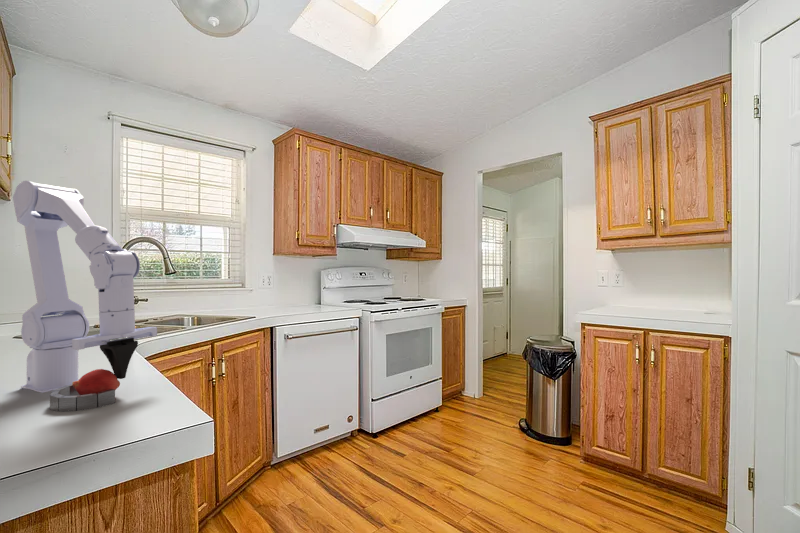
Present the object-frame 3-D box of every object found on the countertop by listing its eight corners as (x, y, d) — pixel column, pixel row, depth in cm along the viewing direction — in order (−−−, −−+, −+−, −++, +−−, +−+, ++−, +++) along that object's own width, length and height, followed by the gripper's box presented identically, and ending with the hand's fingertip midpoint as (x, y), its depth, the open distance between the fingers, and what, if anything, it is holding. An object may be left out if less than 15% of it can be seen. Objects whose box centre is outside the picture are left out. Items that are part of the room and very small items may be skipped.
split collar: (38, 406, 70) (38, 391, 70) (82, 394, 76) (82, 381, 76) (70, 416, 65) (70, 401, 65) (115, 403, 71) (115, 389, 71)
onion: (117, 406, 75) (68, 407, 68) (107, 391, 78) (59, 391, 71) (131, 378, 75) (84, 377, 68) (120, 365, 78) (74, 362, 71)
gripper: (86, 315, 68) (89, 391, 68) (165, 306, 81) (167, 370, 81) (65, 315, 71) (67, 387, 71) (144, 306, 84) (147, 367, 84)
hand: (119, 378), depth 76 cm, fingers closed, pressing on onion
